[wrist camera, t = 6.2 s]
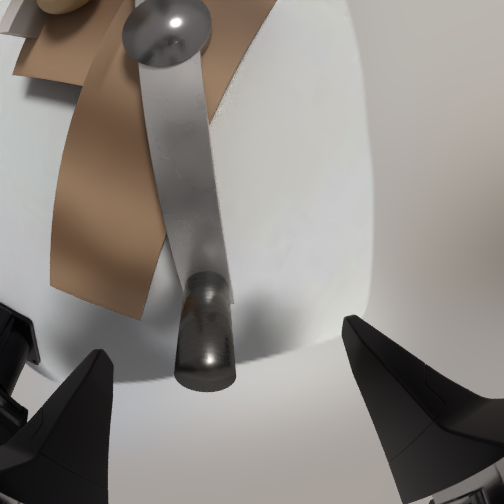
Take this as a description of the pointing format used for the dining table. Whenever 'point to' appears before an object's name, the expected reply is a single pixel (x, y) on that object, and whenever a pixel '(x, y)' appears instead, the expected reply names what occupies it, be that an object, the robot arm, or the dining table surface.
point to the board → (112, 138)
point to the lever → (186, 180)
